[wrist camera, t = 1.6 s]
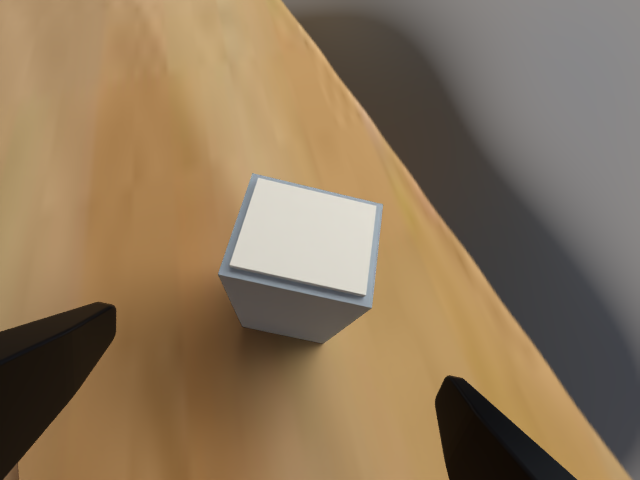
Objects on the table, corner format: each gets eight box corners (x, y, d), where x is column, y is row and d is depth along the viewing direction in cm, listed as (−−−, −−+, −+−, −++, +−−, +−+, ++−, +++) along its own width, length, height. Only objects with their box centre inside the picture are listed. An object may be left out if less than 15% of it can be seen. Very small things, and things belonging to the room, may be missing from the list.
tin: (323, 343, 19) (374, 306, 10) (242, 326, 19) (216, 272, 10) (333, 282, 21) (385, 200, 12) (259, 265, 21) (252, 169, 11)
